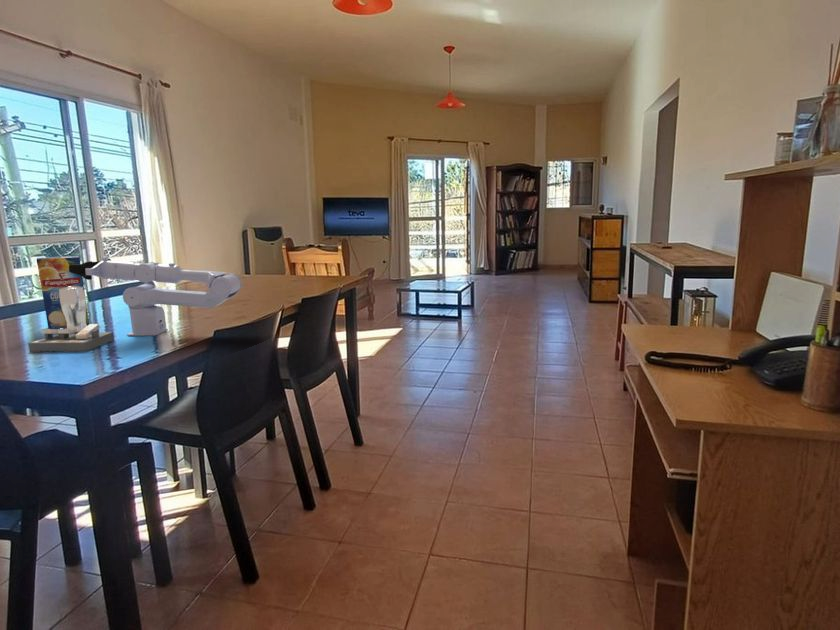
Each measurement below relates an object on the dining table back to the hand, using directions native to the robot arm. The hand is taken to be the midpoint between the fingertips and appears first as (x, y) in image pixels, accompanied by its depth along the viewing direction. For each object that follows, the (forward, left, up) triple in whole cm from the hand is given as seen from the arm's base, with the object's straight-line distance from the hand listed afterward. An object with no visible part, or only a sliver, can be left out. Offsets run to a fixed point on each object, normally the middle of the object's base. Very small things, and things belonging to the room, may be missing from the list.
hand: (78, 267), depth 163 cm
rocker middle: (-6, +15, -17) cm, 24 cm away
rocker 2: (-11, +15, -17) cm, 25 cm away
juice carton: (+15, -12, -22) cm, 29 cm away
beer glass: (+5, -2, -22) cm, 23 cm away
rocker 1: (-1, +15, -17) cm, 23 cm away
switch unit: (-6, +15, -22) cm, 27 cm away
